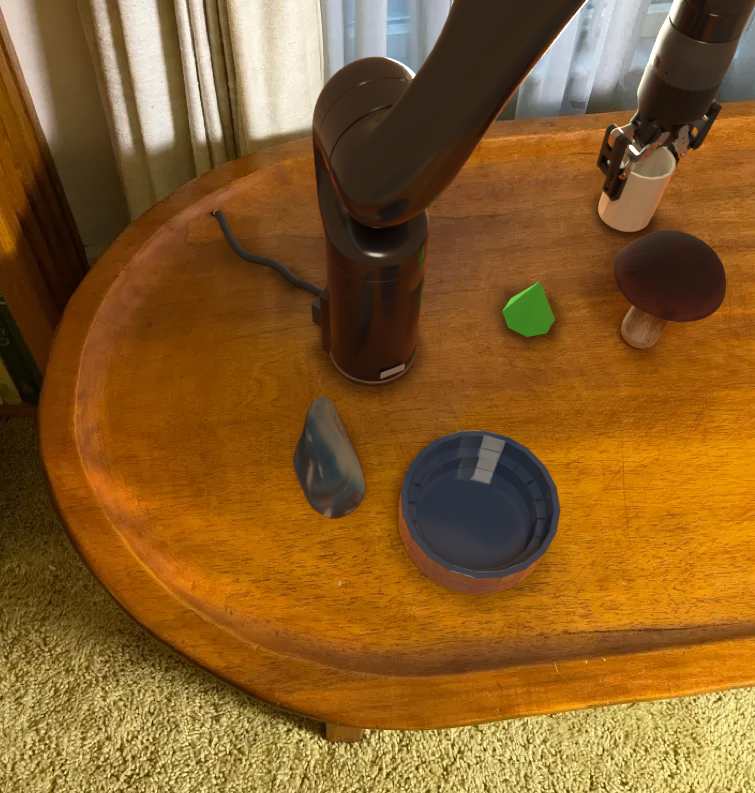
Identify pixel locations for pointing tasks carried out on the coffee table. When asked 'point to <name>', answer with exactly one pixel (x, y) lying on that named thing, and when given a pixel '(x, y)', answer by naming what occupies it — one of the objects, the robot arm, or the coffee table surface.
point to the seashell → (328, 463)
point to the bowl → (477, 511)
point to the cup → (639, 192)
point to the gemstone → (529, 312)
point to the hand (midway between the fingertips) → (635, 186)
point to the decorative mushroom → (667, 283)
